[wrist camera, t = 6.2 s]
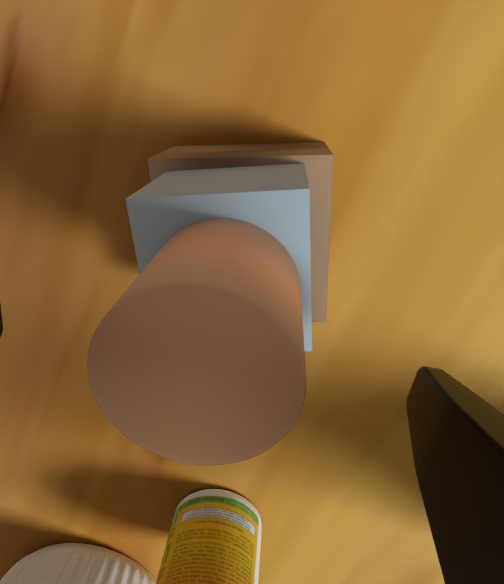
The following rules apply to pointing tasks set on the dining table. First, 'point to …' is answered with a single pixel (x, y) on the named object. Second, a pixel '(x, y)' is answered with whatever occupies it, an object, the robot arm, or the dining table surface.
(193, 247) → the terracotta dowel
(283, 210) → the slate block
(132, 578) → the ramekin
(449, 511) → the robot arm
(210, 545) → the supplement bottle
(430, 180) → the dining table surface
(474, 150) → the dining table surface
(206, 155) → the walnut base block
